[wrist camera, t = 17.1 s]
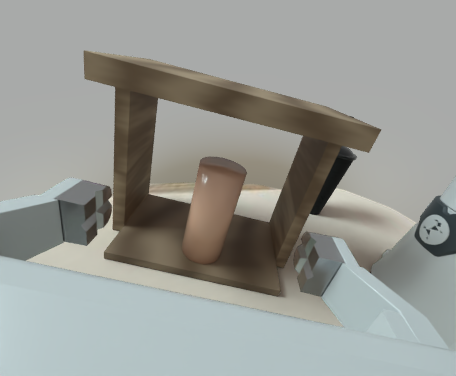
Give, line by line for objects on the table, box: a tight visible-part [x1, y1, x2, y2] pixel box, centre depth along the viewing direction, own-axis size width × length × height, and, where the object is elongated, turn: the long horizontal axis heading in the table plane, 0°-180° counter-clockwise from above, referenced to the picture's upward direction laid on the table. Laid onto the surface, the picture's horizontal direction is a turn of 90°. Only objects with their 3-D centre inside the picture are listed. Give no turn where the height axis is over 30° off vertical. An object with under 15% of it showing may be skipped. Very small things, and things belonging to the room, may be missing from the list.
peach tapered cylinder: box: [182, 157, 247, 264], centre depth 28 cm, size 5×5×12 cm
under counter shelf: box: [84, 51, 381, 296], centre depth 29 cm, size 24×14×21 cm, turn 86°
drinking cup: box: [310, 116, 357, 215], centre depth 47 cm, size 8×8×20 cm
